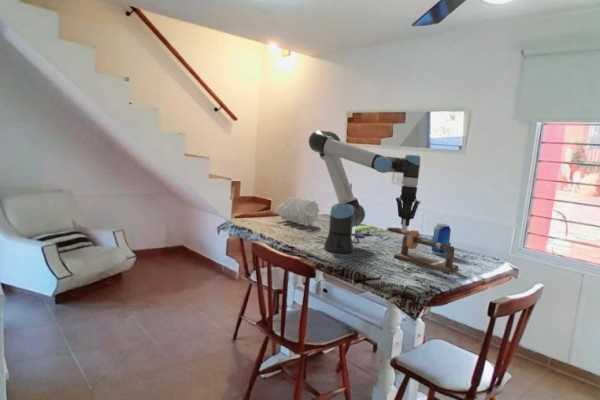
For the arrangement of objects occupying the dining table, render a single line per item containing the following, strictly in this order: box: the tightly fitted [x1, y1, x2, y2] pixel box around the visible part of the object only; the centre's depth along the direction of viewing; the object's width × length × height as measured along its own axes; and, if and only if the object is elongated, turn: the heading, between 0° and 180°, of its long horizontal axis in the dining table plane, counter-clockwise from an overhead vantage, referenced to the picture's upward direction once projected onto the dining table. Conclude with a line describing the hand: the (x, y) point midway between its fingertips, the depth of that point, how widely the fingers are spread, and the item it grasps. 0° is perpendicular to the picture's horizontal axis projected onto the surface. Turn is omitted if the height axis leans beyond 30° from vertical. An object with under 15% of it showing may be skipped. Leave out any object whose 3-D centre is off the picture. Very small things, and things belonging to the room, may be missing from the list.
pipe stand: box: [393, 234, 459, 274], centre depth 210 cm, size 12×28×11 cm, turn 45°
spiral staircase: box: [276, 195, 320, 227], centre depth 282 cm, size 18×18×25 cm
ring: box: [406, 229, 421, 250], centre depth 215 cm, size 9×2×9 cm, turn 135°
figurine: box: [354, 225, 389, 238], centre depth 266 cm, size 18×27×6 cm
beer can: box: [431, 223, 452, 256], centre depth 232 cm, size 8×8×16 cm
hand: (404, 231), depth 218 cm, fingers closed
